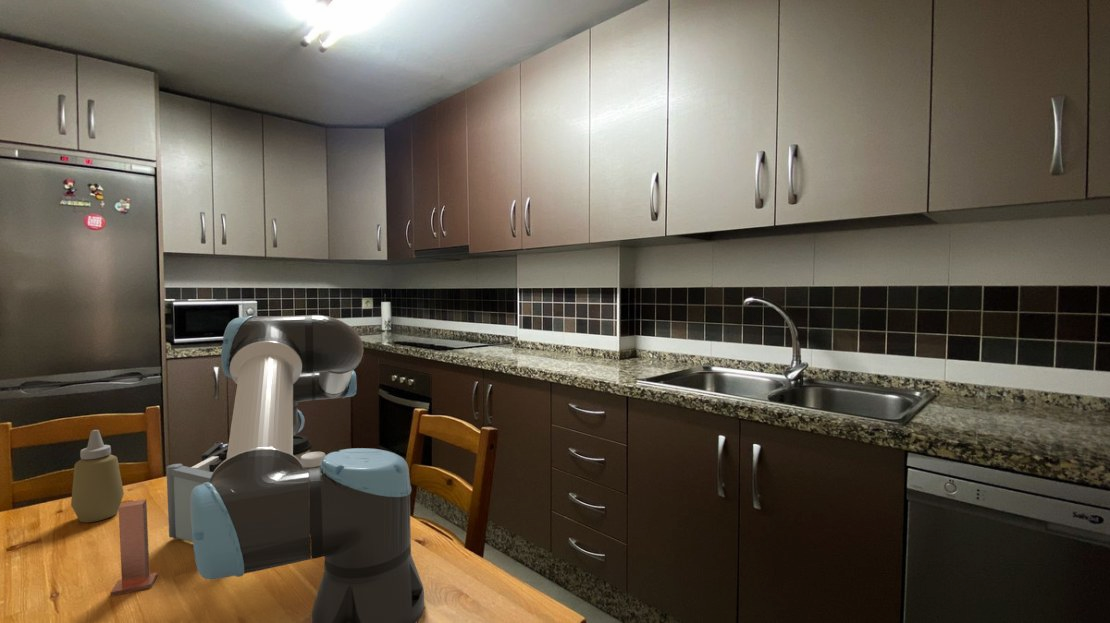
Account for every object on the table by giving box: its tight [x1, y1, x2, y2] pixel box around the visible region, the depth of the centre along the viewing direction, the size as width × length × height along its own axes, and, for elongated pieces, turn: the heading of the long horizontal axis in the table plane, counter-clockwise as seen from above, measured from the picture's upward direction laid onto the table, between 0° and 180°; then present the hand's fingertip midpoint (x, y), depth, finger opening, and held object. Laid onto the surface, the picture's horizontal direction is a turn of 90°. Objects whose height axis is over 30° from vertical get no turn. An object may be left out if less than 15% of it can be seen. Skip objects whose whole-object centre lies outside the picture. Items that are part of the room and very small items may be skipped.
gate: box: [166, 463, 213, 543], centre depth 92 cm, size 16×2×14 cm, turn 66°
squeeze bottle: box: [70, 429, 125, 523], centre depth 104 cm, size 8×8×18 cm
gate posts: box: [109, 498, 158, 597], centre depth 84 cm, size 18×7×16 cm, turn 116°
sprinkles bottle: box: [301, 451, 327, 503], centre depth 103 cm, size 5×5×13 cm
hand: (194, 474), depth 100 cm, fingers closed
